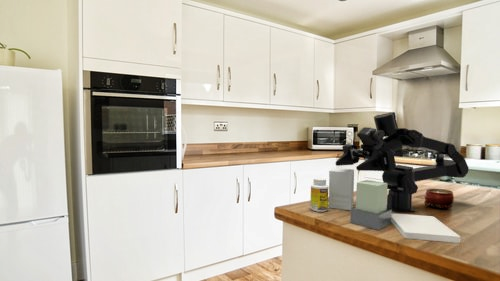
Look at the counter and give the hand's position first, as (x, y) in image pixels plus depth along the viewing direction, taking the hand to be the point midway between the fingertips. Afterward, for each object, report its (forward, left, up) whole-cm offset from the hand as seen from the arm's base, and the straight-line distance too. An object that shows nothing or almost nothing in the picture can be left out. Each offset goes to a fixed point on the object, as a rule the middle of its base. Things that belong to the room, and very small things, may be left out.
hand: (345, 166), depth 87 cm
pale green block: (-5, +7, -11) cm, 14 cm away
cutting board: (-15, +13, -15) cm, 25 cm away
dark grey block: (-5, +7, -15) cm, 17 cm away
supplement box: (-4, -10, -15) cm, 19 cm away
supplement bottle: (+5, -7, -15) cm, 18 cm away
